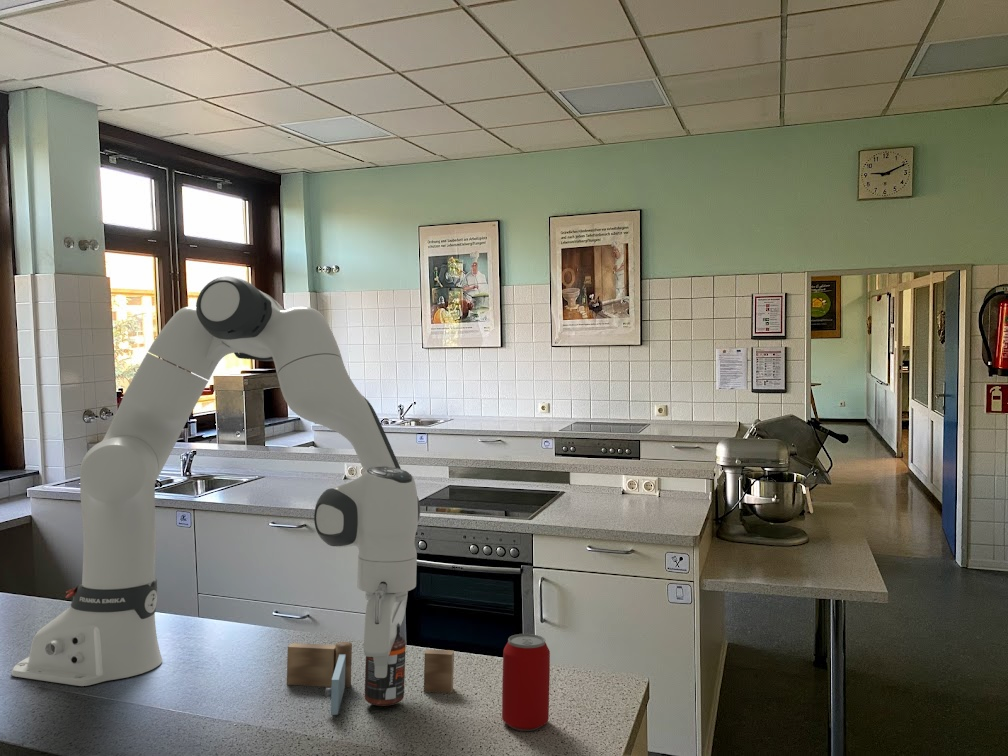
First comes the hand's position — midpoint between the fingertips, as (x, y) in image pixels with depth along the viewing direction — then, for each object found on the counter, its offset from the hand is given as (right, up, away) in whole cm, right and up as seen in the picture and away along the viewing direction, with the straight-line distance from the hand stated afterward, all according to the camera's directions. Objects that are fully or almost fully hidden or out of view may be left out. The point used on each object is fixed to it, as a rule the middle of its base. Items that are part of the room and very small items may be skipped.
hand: (384, 667), depth 116 cm
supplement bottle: (0, -5, 0) cm, 5 cm away
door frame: (-4, -6, +7) cm, 10 cm away
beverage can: (+21, -6, -6) cm, 23 cm away
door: (-8, -5, 0) cm, 9 cm away
